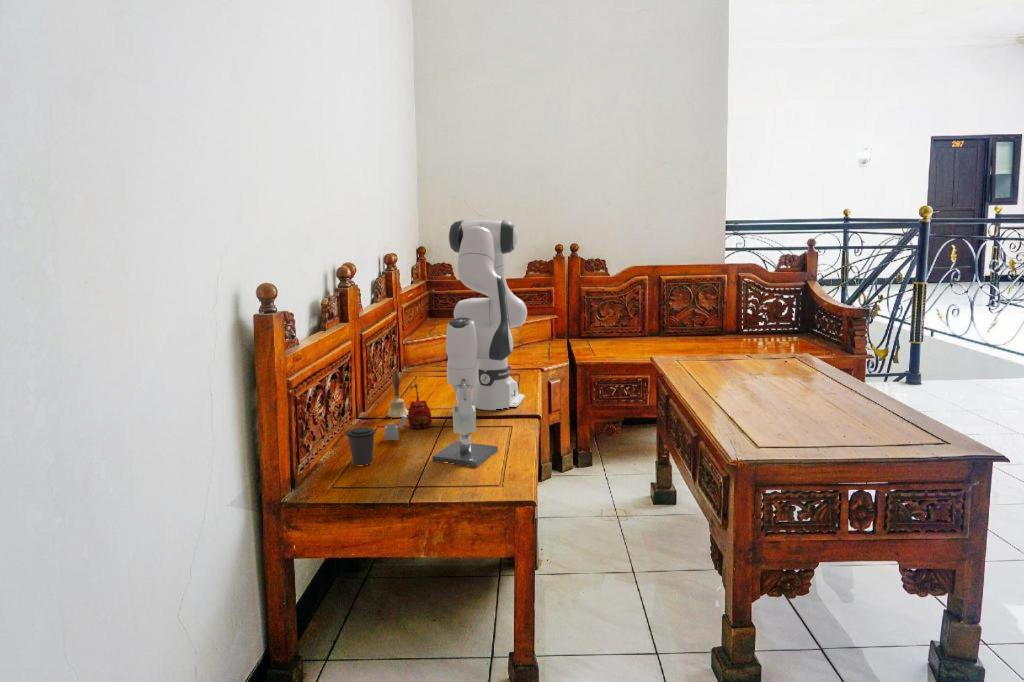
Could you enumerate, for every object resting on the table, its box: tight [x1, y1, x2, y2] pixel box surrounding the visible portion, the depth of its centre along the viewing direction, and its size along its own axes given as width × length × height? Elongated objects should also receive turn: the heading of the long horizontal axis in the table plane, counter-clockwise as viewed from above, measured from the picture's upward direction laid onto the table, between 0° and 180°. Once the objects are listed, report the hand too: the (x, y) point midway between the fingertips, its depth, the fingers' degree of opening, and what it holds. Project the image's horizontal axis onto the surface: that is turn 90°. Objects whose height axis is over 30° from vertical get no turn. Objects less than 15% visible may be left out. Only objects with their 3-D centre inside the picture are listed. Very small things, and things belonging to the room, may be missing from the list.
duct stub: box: [431, 432, 499, 468], centre depth 208 cm, size 14×14×6 cm
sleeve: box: [451, 405, 477, 434], centre depth 206 cm, size 6×6×6 cm
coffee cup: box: [346, 426, 376, 466], centre depth 204 cm, size 8×8×10 cm
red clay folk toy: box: [407, 380, 432, 430], centre depth 235 cm, size 8×7×15 cm
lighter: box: [384, 414, 408, 441], centre depth 224 cm, size 7×2×8 cm, turn 92°
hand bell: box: [386, 369, 409, 417], centre depth 249 cm, size 8×8×16 cm
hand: (464, 423), depth 206 cm, fingers closed on sleeve, 6 cm apart
